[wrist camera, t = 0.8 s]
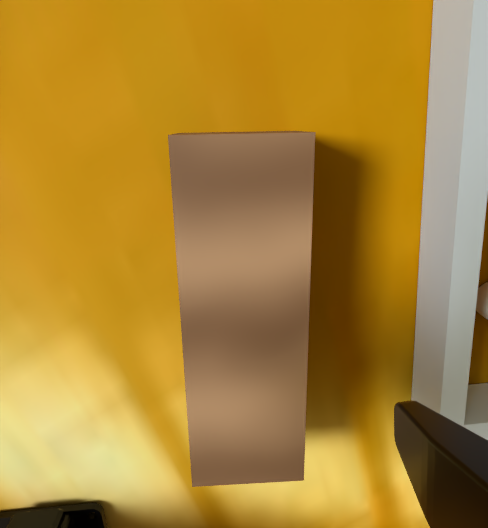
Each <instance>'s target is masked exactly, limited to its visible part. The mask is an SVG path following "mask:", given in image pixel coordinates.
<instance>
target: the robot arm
mask: <svg viewBox="0 0 488 528" xmlns="http://www.w3.org/2000/svg"><path fill="white" fill-rule="evenodd" d="M394 436H395V442H396V446H397V449H398V451H399V454H400V456H401V459H402V461H403V464H404V466H405V469H406V471H407V474H408V476H409V479H410V481H411V483H412V486H413V488H414V491H415V493H416V496H417V498H418V501H419V503H420V506H421V508H422V511H423V513H424V515H425V518H426V520H427V522H428V524H429V526H430V528H488V440H486V439H485V438H483V437H481V436H479V435H477V434H476V433H474V432H472V431H470V430H468V429H466V428H465V427H463V426H461V425H459V424H457V423H456V422H454V421H452V420H450V419H448V418H447V417H445V416H443V415H441V414H439V413H437V412H436V411H434V410H432V409H430V408H428V407H427V406H425V405H423V404H421V403H419V402H417V401H414V400H412V401H404V402H398V403H397V404H396V405H395V408H394ZM92 512H94V513H92ZM0 528H108V527H107V523H106V518H105V514H104V510H103V507H102V506H101V505H100V504H97V503H87V504H77V505H67V506H58V507H48V508H38V509H28V510H19V511H9V512H0Z"/></svg>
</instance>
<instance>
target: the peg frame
mask: <svg viewBox="0 0 488 528" xmlns="http://www.w3.org/2000/svg"><path fill="white" fill-rule="evenodd" d="M487 196H488V0H434V2H433V20H432V38H431V56H430V74H429V92H428V110H427V128H426V146H425V164H424V182H423V200H422V218H421V236H420V254H419V272H418V290H417V308H416V326H415V344H414V362H413V380H412V398H411V401H412V400H414V401H417V402H419V403H421V404H423V405H425V406H427V407H428V408H430V409H432V410H434V411H436V412H437V413H439V414H441V415H443V416H445V417H447V418H448V419H450V420H452V421H454V422H456V423H457V424H459V425H461V426H463V427H465V428H466V429H468V430H470V431H472V432H474V433H476V434H477V435H479V436H481V437H483V438H485V439H486V440H488V383H481V384H470V385H468V381H469V371H470V361H471V351H472V342H473V332H474V322H475V313H476V311H477V312H478V313H479V314H480V315H482V316H483V317H485V318H486V319H487V320H488V282H486V283H484V284H483V285H481V286H480V287H479V288H478V284H479V274H480V264H481V254H482V245H483V235H484V225H485V216H486V206H487Z"/></svg>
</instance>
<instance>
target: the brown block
mask: <svg viewBox="0 0 488 528" xmlns="http://www.w3.org/2000/svg"><path fill="white" fill-rule="evenodd" d="M168 140H169V155H170V169H171V184H172V198H173V213H174V227H175V242H176V256H177V271H178V285H179V300H180V314H181V329H182V343H183V358H184V372H185V387H186V401H187V416H188V430H189V445H190V459H191V474H192V487H196V486H213V485H231V484H249V483H266V482H284V481H302V480H304V456H305V426H306V395H307V365H308V335H309V305H310V275H311V245H312V215H313V185H314V155H315V132H302V131H266V132H212V133H177V134H172V135H168Z"/></svg>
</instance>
